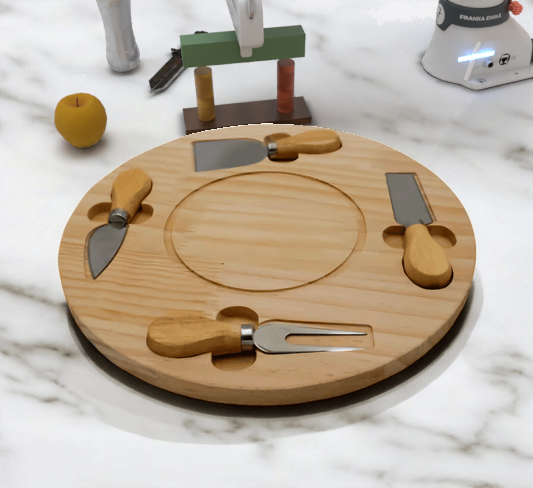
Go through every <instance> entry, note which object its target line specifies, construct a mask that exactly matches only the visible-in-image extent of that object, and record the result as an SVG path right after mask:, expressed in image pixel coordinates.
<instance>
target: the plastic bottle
mask: <svg viewBox="0 0 533 488" xmlns="http://www.w3.org/2000/svg"><path fill="white" fill-rule="evenodd" d="M131 1H132V0H95V2H96V5H97V7H98V11H99V14H100V17H101V21H102V25H103V29H104V37H105V58H106V61H107V64H108V66H109V68H111V69H112V70H113V71H115V72H121V73H125V72H130V71H133V70H134V69H136V68H137V67H138V66H139V63H140V61H141V53H140V50H139V49H140V48H139V45H138V43H137V41H136V36H135V32H134V29H133V21H132V20H133V19H132V2H131Z"/></svg>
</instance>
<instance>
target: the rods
mask: <svg viewBox="0 0 533 488" xmlns="http://www.w3.org/2000/svg"><path fill="white" fill-rule="evenodd" d="M295 65H296V62H295V60H294V59H293V58H289V59H279V60H276V98H271V99H261V100H252V101H241V102H233V103H232V102H231V103H224V104H223V103H222V104H215V93H214V80H213V78H214V77H213V69H212V68H211V66H202V67H194V68H193V69H194V70H193V76H194V89H195V97H196V106H195V107H183V108H182V115H183V123H184V129H185V136H186V135H189V134H192V133H197V132H201V131H205V130H211V129H217V128H223V127H230V126H238V125H248V124H261V123H273V124H294V125H298V126H307V125H312V119H313V118H312V115H311V112H310V109H309V107H308V104H307V102H306V99H305V97H304V96H303V95H301V96H300V95H299V96H295V77H296V75H295V74H296V73H295V71H296V69H295V67H296V66H295Z"/></svg>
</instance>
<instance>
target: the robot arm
mask: <svg viewBox="0 0 533 488" xmlns="http://www.w3.org/2000/svg"><path fill="white" fill-rule="evenodd" d="M225 2H226V5H227V9H228V12H229V16H230V19H231V23H232V26H233V29H234V31H235V32H236V36H237V39H238V42H239V46H240V54H241V56H242V57H250V56H251V55H252V48H258V47H262V45H263V42H264V28H265V27H264V10H263V1H262V0H225ZM523 8H524V6H523V5H522V4H521V3H520V2H519V1H518V0H438V2H437V7H436V12H435V26H434V29H433V32H432V36H431V39H430V42H429V44H428V46H427V49H426V51H425V53H424V55H423V57H422V59H421V65H422V67H423V69H424V70H425V71H426V72H427V73H428V74H430V75H431V76H432V77H435V78H437V79H439V80H441V81H444V82H449V83H453V84H457V85H461V86H463V87H465V88H468V89H470V90H474V91H479V90H483V89H488V88H492V87H497V86H501V85H505V84H510V83H514V82H518V81H523V80H526V79H527V80H528V79H532V78H533V38H531V35H530V34H529V33H528V32H527V30H526V29H525V28H524V27H523V26H522V25H521V24H520V23H519V22H518V21H517V20H516V19H515V18H513V16H519V15H521V13H523V11H524V9H523ZM510 12H511V14H512V15H513V16H511V15H510Z"/></svg>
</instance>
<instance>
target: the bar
mask: <svg viewBox="0 0 533 488" xmlns="http://www.w3.org/2000/svg"><path fill="white" fill-rule="evenodd" d="M263 28H264V42H263V45H262V47H258V48H252V55H251V56H250V57H242V56H241V54H240V46H239V42H238V39H237V36H236V32H235V30H225V31H213V32H208V33H200V34H194V33H191V34H190V33H189V34H180V35H179V43H180V45H181V54H182V58H181V59H182V61H183V67H184V69H190V68H197V67H202V66H208V67H211V66H222V65H234V64H244V63H245V64H246V63H255V62H268V61H278V60H279V59H289V58H290V59H299V58H305V57H306V41H307V39H306V37H307V34H306V31H305V30H304V28H303V26H302V24H295V25H285V26H273V27H272V26H270V27H263Z"/></svg>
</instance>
